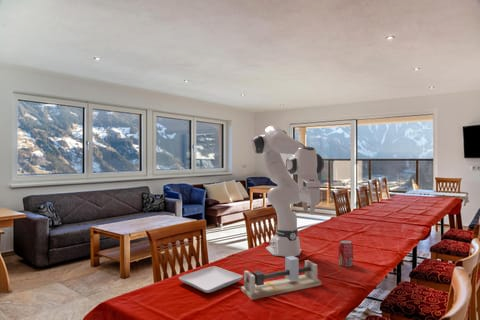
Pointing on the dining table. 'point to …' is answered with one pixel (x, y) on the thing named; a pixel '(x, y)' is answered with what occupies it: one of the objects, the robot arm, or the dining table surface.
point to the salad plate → (210, 279)
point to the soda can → (345, 253)
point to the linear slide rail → (279, 282)
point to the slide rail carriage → (292, 268)
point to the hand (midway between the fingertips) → (308, 212)
